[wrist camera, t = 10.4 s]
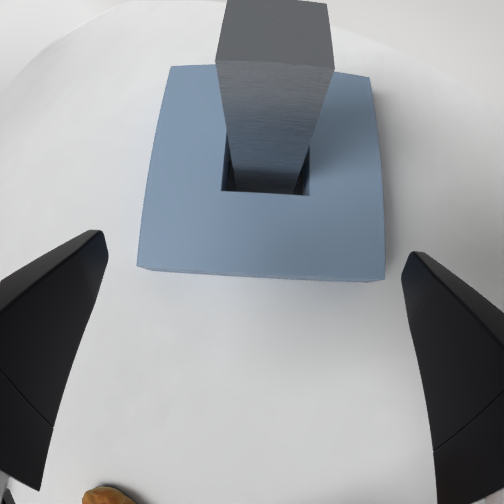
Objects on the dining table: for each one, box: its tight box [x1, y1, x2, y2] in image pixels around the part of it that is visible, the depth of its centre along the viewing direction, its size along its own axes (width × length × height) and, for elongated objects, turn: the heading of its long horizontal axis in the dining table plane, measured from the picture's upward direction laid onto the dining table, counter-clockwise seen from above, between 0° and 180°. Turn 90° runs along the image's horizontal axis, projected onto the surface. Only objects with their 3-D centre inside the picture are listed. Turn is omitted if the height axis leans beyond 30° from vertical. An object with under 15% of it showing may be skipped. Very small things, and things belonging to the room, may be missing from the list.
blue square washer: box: [137, 65, 385, 282], centre depth 20 cm, size 14×14×3 cm
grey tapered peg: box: [215, 0, 335, 195], centre depth 15 cm, size 4×4×13 cm
